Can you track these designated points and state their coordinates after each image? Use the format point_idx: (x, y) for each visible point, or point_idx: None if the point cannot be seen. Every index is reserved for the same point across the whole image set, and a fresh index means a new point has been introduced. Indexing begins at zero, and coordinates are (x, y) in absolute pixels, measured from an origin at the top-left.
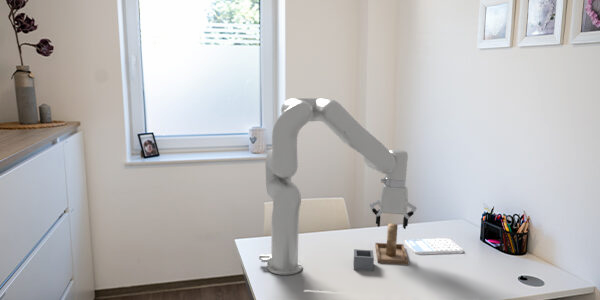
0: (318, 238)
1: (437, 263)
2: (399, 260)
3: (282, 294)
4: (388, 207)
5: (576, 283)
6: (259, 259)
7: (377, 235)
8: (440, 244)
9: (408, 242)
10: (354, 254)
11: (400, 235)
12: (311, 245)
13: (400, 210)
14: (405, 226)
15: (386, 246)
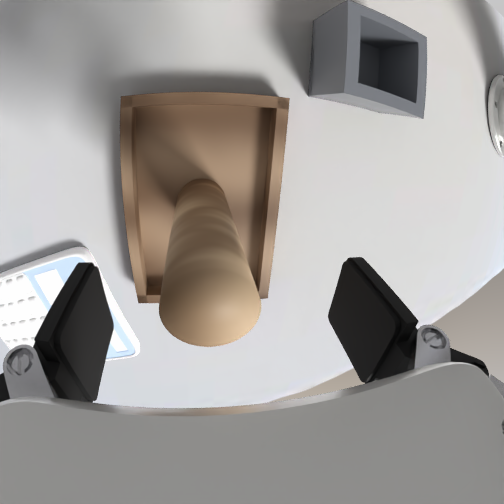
0: (416, 307)
1: (13, 169)
2: (169, 93)
3: (490, 5)
4: (439, 487)
5: None
6: None
7: (237, 375)
8: (23, 324)
9: (123, 336)
10: (426, 59)
11: (159, 385)
12: (447, 257)
13: (72, 487)
14: (72, 275)
15: None
